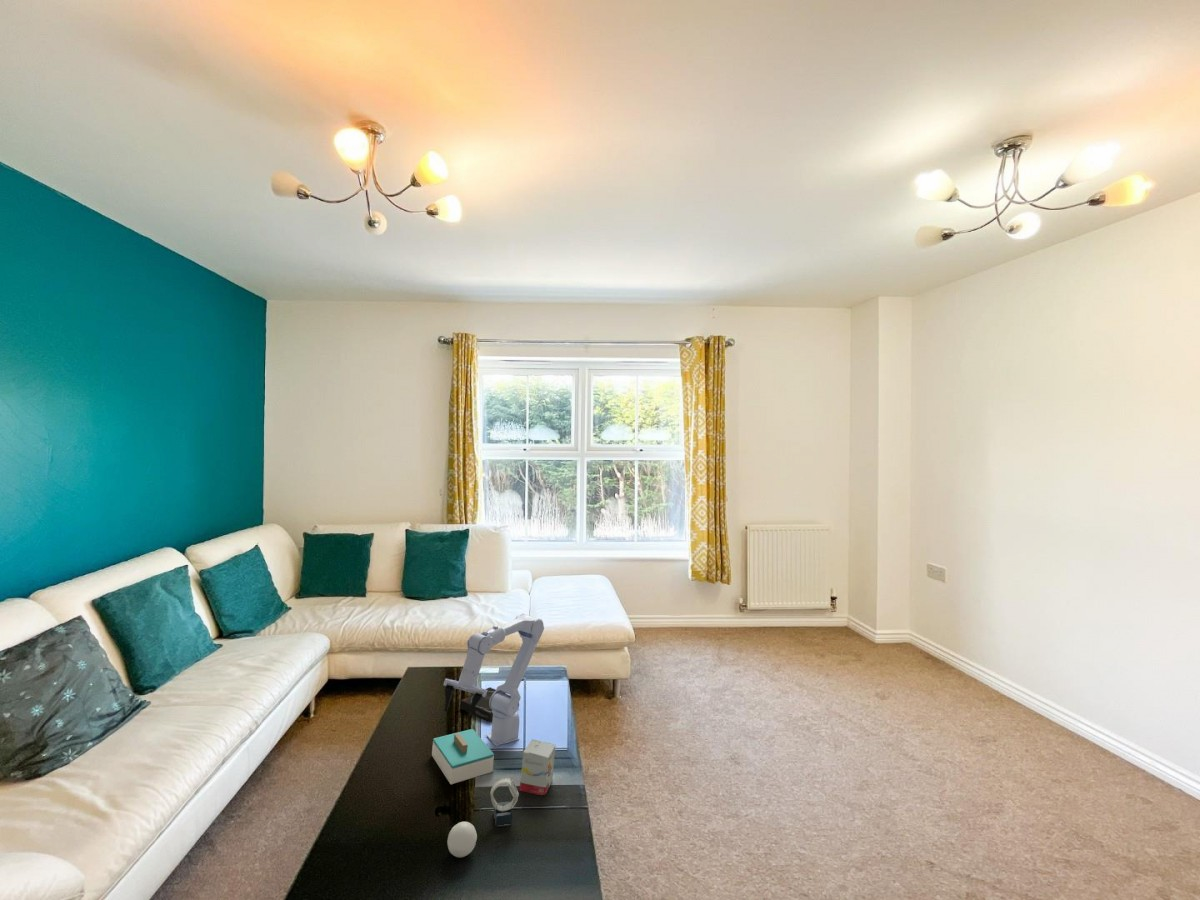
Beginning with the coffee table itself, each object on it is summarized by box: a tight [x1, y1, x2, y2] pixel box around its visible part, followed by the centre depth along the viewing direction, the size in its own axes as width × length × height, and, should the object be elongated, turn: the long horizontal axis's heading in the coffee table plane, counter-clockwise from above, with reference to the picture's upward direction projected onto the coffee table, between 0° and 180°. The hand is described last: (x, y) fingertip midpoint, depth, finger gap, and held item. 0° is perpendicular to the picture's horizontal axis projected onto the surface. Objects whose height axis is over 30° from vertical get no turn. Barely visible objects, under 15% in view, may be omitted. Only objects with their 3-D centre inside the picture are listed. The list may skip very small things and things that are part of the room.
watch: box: [489, 777, 520, 826], centre depth 145 cm, size 6×8×11 cm
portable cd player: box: [459, 686, 520, 723], centre depth 209 cm, size 16×17×4 cm
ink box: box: [519, 739, 557, 796], centre depth 162 cm, size 9×9×12 cm
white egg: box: [446, 821, 478, 858], centre depth 133 cm, size 10×7×7 cm
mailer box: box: [431, 741, 495, 785], centre depth 170 cm, size 14×18×5 cm
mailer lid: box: [432, 728, 495, 768], centre depth 170 cm, size 14×18×3 cm
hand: (457, 714), depth 169 cm, fingers open, 7 cm apart
